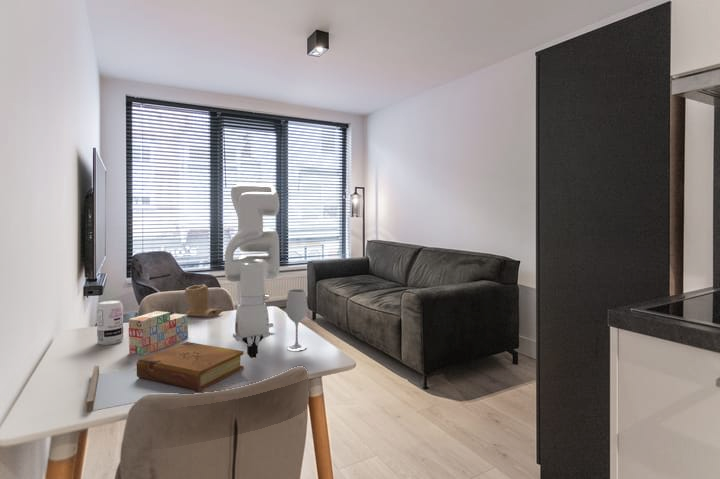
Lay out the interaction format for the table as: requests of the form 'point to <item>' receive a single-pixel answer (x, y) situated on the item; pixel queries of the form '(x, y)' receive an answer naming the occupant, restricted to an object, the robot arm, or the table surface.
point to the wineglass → (296, 309)
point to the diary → (190, 365)
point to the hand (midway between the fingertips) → (252, 356)
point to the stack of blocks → (156, 331)
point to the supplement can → (109, 322)
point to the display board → (133, 388)
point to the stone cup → (199, 301)
